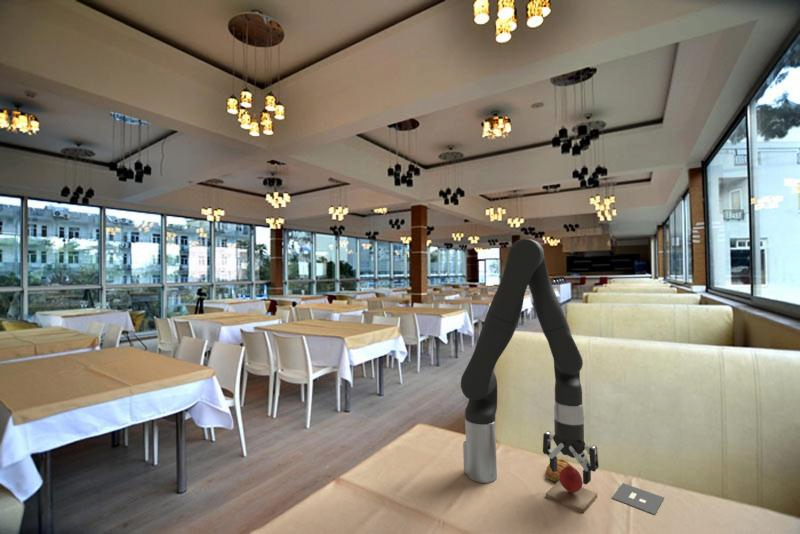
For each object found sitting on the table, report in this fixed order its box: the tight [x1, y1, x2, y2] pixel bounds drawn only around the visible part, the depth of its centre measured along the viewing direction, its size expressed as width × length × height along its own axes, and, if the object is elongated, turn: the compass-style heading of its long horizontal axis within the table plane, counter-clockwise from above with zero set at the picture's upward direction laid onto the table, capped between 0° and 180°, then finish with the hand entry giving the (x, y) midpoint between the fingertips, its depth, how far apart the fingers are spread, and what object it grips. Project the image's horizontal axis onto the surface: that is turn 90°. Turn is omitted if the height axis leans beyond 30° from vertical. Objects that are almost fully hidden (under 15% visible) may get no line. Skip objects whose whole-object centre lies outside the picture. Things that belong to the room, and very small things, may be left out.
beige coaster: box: [545, 480, 598, 514], centre depth 101 cm, size 10×10×1 cm
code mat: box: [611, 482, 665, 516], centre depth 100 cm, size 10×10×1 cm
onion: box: [559, 462, 583, 494], centre depth 101 cm, size 6×6×8 cm
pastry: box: [545, 458, 569, 483], centre depth 112 cm, size 9×7×4 cm
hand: (569, 476), depth 102 cm, fingers open, 8 cm apart
